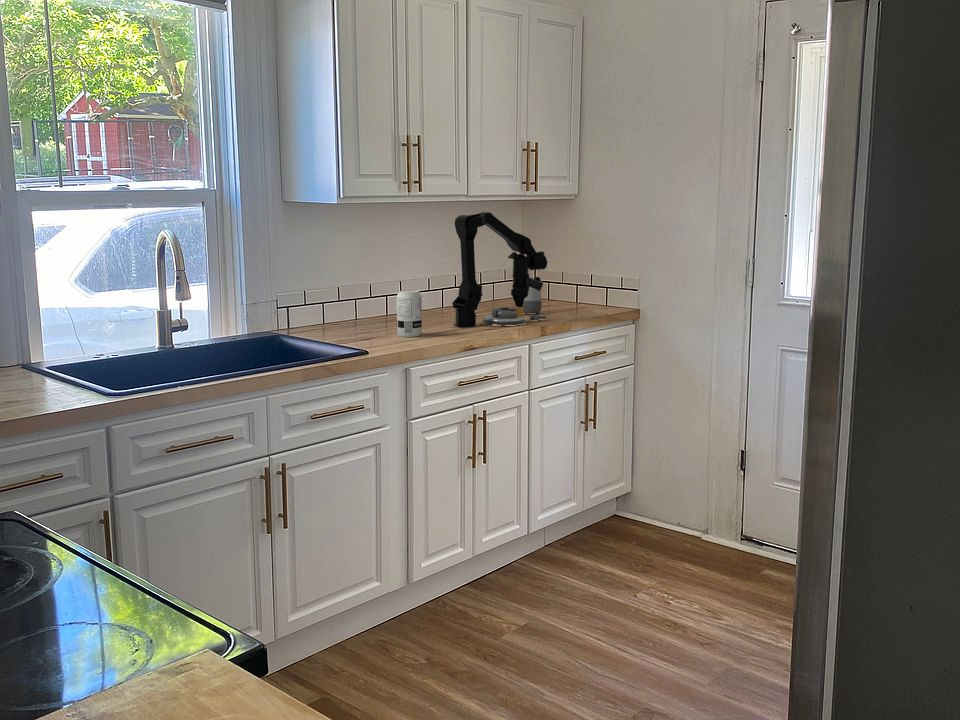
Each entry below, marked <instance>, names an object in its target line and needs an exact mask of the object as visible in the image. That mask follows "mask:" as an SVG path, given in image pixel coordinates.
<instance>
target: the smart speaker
mask: <svg viewBox="0 0 960 720" xmlns="http://www.w3.org/2000/svg"><path fill="white" fill-rule="evenodd" d="M542 305H543V304H542V290H541V291H538V290H537V289H534V288H532V287H529V291H528V296H527V297H526V298H525V299H524V302H523V307H524V309H523V313H538V314H540V312H541V311H542V308H543V307H542Z"/></svg>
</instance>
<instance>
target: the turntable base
mask: <svg viewBox="0 0 960 720" xmlns="http://www.w3.org/2000/svg"><path fill="white" fill-rule="evenodd" d="M526 322H527V321H526V320H525V319H524V321H523V322H517V323H493V322H487V321H484V319H482V321H481V323H484V324H488V325H501V326H505V325H518V324H524V323H526ZM484 324H483V325H484ZM526 324H527V323H526Z"/></svg>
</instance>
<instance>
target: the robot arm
mask: <svg viewBox="0 0 960 720" xmlns="http://www.w3.org/2000/svg"><path fill="white" fill-rule="evenodd" d="M483 226H486V227H487V228H488V229H490V230H492V231H493V232H494V233H495V234H496V235H498V236H499V237H500V238H502V239H504V241H505V242H506V244H507V245H508V247H509V248H510V249H511V250H512V252H511V253H510V254H509V255H508V256H507V258H508V259H509V260H510V259H511V260H512V288H511V290H510V296H511V297H512V299H513V302H514V304H515V306H516V307H518V306H522V307H523V302H524V299H525V298H526V297H527V296H528V291H529V287H532V288H534V289H537V290H538V291H541V292H542V288H543V285H544V282H543V281H541V277H539V276H535V277H531V276H530V273H529V270H530V271H539V270H540V271H541V270H546V268H548V259H547V256H546V255H545V251H541V250H539V251H536V249H535V248H534V246H533V244H532V240H531V239H530V238H529V236H526V235H524V234H521V233H518V232H516V231H514V230H513V229H512V228H510V227H509V226H507V225H506V224H505V223H503V222H502V221H501V220H500V219H498V218H497V217H496V216H494V215H493V213H492V212H490V211H489V212H487V211H482V212H479V213H475V214H469V215H467V214H459V215H458V216H457V217H456V218H455V220H454V227H455V232H456V235H457V237H458V239H459V242H460V243H459V244H460V262H461V278H462V280H461V283H460V284H459V288H458V294H457V297H456V298H455V299H454V300H453V302H452V306H453V309H455V323H453V326H455V327H458V328H472V327H473V328H475V327H474V326H476V327H477V313H476V312H475V311H477V310H478V306H479V304H480V302H481V300H482V297H483V296H484V295H483V292H482V290H483V285H482V284H480V283H478V282H477V279H476V277H477V276H476V258H475V254H476V253H475V238H476V236H477V235H478V234H477V233H478V228H480V227H483ZM525 255H526V256H525ZM516 307H515V308H516Z"/></svg>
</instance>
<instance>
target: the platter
mask: <svg viewBox="0 0 960 720" xmlns="http://www.w3.org/2000/svg"><path fill="white" fill-rule="evenodd" d="M515 308H516V309H517V317H516V318H508V319H499V318H493V317H492V314H487V315H484V316H483V320H484V321H487V322H493V323H517V322H523V321H524V320H525V316H524V314H523V309H524V307H522V306H518V307H515Z"/></svg>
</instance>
